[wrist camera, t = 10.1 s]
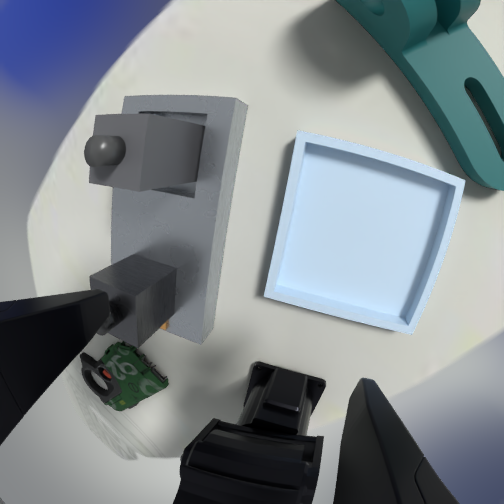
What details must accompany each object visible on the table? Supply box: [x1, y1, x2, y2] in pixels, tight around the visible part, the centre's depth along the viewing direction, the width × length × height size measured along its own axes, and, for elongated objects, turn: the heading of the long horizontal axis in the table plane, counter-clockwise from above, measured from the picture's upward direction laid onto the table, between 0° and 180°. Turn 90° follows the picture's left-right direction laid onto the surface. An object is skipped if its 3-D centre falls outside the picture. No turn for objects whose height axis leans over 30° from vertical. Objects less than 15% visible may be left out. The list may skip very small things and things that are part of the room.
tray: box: [264, 130, 466, 335], centre depth 18 cm, size 11×11×2 cm
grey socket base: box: [90, 95, 248, 348], centre depth 18 cm, size 18×9×9 cm, turn 169°
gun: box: [80, 341, 169, 411], centre depth 31 cm, size 16×2×10 cm
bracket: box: [336, 0, 504, 191], centre depth 10 cm, size 18×7×8 cm, turn 35°
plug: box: [84, 114, 205, 192], centre depth 16 cm, size 4×4×9 cm
